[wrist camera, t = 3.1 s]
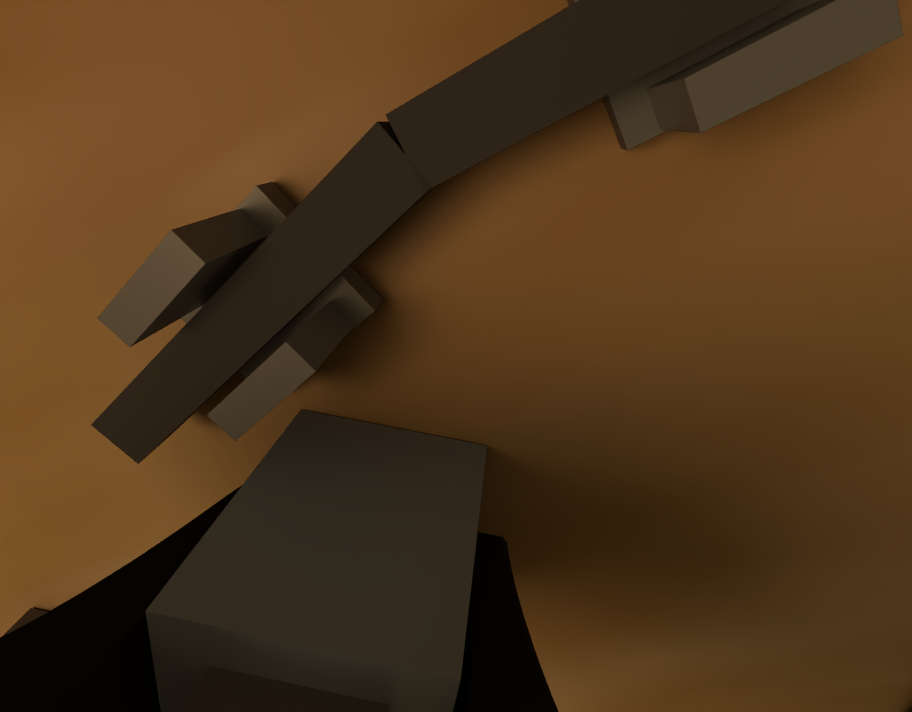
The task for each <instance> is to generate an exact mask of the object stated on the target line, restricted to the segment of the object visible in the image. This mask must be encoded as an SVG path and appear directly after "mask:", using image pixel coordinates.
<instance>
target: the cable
mask: <svg viewBox="0 0 912 712" xmlns="http://www.w3.org/2000/svg"><path fill="white" fill-rule="evenodd" d="M784 1H786V0H579V1H577V2H575V3H574V4H572V5H570V6H568V7H567V8H565V9H563V10H562V11H560V12H558V13H557V14H555V15H553V16H552V17H550V18H548V19H547V20H545V21H543V22H541V23H540V24H538V25H536V26H535V27H533V28H531V29H530V30H528V31H526V32H525V33H523V34H521V35H519V36H518V37H516V38H514V39H513V40H511V41H509V42H508V43H506V44H504V45H503V46H501V47H499V48H498V49H496V50H494V51H492V52H491V53H489V54H487V55H486V56H484V57H482V58H481V59H479V60H477V61H476V62H474V63H472V64H470V65H469V66H467V67H465V68H464V69H462V70H460V71H459V72H457V73H455V74H454V75H452V76H450V77H449V78H447V79H445V80H443V81H442V82H440V83H438V84H437V85H435V86H433V87H432V88H430V89H428V90H427V91H425V92H423V93H421V94H420V95H418V96H416V97H415V98H413V99H411V100H410V101H408V102H406V103H405V104H403V105H401V106H400V107H398V108H396V109H394V110H393V111H391V112H389V113H388V114H386V116H387V118H388V120H389V122H377V123H376V124H375V125H374V126H373V127H372V128H371V129H370V130H369V131H368V132H367V133H366V134H365V135H364V136H363V137H362V138H361V139H360V141H359V142H358V143H357V144H356V145H355V146H354V147H353V148H352V149H351V150H350V151H349V152H348V153H347V154H346V155H345V156H344V157H343V159H342V160H341V161H340V162H339V163H338V164H337V165H336V166H335V167H334V168H333V169H332V170H331V171H330V172H329V173H328V174H327V175H326V177H325V178H324V179H323V180H322V181H321V182H320V183H319V184H318V185H317V186H316V187H315V188H314V189H313V190H312V191H311V192H310V193H309V195H308V196H307V197H306V198H305V199H304V200H303V201H302V202H301V203H300V204H299V205H298V206H297V207H296V208H295V209H294V210H293V212H292V213H291V214H290V215H289V216H288V217H287V218H286V219H285V220H284V221H283V222H282V223H281V224H280V225H279V226H278V227H277V228H276V230H275V231H274V232H273V233H272V234H271V235H270V236H269V237H268V238H267V239H266V240H265V241H264V242H263V243H262V244H261V245H260V246H259V248H258V249H257V250H256V251H255V252H254V253H253V254H252V255H251V256H250V257H249V258H248V259H247V260H246V261H245V262H244V263H243V264H242V266H241V267H240V268H239V269H238V270H237V271H236V272H235V273H234V274H233V275H232V276H231V277H230V278H229V279H228V280H227V281H226V282H225V284H224V285H223V286H222V287H221V288H220V289H219V290H218V291H217V292H216V293H215V294H214V295H213V296H212V297H211V298H210V299H209V301H208V302H207V303H206V304H205V305H204V306H203V307H202V308H201V309H200V310H199V311H198V312H197V313H196V314H195V315H194V316H193V317H192V319H191V320H190V321H189V322H188V323H187V324H186V325H185V326H184V327H183V328H182V329H181V330H180V331H179V332H178V333H177V334H176V335H175V337H174V338H173V339H172V340H171V341H170V342H169V343H168V344H167V345H166V346H165V347H164V348H163V349H162V350H161V351H160V352H159V353H158V355H157V356H156V357H155V358H154V359H153V360H152V361H151V362H150V363H149V364H148V365H147V366H146V367H145V368H144V369H143V370H142V371H141V373H140V374H139V375H138V376H137V377H136V378H135V379H134V380H133V381H132V382H131V383H130V384H129V385H128V386H127V387H126V388H125V390H124V391H123V392H122V393H121V394H120V395H119V396H118V397H117V398H116V399H115V400H114V401H113V402H112V403H111V404H110V405H109V406H108V408H107V409H106V410H105V411H104V412H103V413H102V414H101V415H100V416H99V417H98V418H97V419H96V420H95V421H94V422H93V423H92V424H91V425H92V426H93V427H94V428H95V429H97V430H98V431H99V432H100V433H101V434H103V435H104V436H105V437H106V438H108V439H109V440H110V441H111V442H112V443H114V444H115V445H116V446H117V447H118V448H120V449H121V450H122V451H123V452H124V453H126V454H127V455H128V456H129V457H131V458H132V459H133V460H134V461H135V462H137V463H138V464H139V463H140V462H141V461H142V460H143V459H144V458H145V457H147V456H148V455H149V454H150V453H151V452H152V451H153V450H154V449H156V448H157V447H158V446H159V445H160V444H161V443H162V442H163V441H165V440H166V439H167V438H168V437H169V436H170V435H171V434H172V433H173V432H174V431H175V430H177V429H178V428H179V427H180V426H181V425H182V424H183V423H184V422H185V421H186V420H187V419H188V418H189V417H190V416H191V415H192V414H194V413H195V412H196V411H197V410H198V409H199V408H200V407H201V406H202V405H203V404H204V403H205V402H206V401H207V400H208V399H209V398H211V397H212V396H213V395H214V394H215V393H216V392H217V391H218V390H219V389H220V388H221V387H222V386H223V385H224V384H225V383H226V382H227V381H229V380H230V379H231V378H232V377H233V376H234V375H235V374H236V373H237V372H238V371H239V370H240V369H241V368H242V367H243V366H244V365H246V364H247V363H248V362H249V361H250V360H251V359H252V358H253V357H254V356H255V355H256V354H257V353H258V352H259V351H260V350H261V349H263V348H264V347H265V346H266V345H267V344H268V343H269V342H270V341H271V340H272V339H273V338H274V337H275V336H276V335H277V334H278V333H280V332H281V331H282V330H283V329H284V328H285V327H286V326H287V325H288V324H289V323H290V322H291V321H292V320H293V319H294V318H295V317H296V316H298V315H299V314H300V313H301V312H302V311H303V310H304V309H305V308H306V307H307V306H308V305H309V304H310V303H311V302H312V301H313V300H315V299H316V298H317V297H318V296H319V295H320V294H321V293H322V292H323V291H324V290H325V289H326V288H327V287H328V286H329V285H330V284H332V283H333V282H334V281H335V280H336V279H337V278H338V277H339V276H340V275H341V274H342V273H343V272H344V271H345V270H346V269H347V268H349V267H350V266H351V265H352V264H353V263H354V262H355V261H356V260H357V259H358V258H359V257H360V256H361V255H362V254H363V253H364V252H365V251H367V250H368V249H369V248H370V247H371V246H372V245H373V244H374V243H375V242H376V241H377V240H378V239H379V238H380V237H381V236H382V235H384V234H385V233H386V232H387V231H388V230H389V229H390V228H391V227H392V226H393V225H394V224H395V223H396V222H397V221H398V220H399V219H401V218H402V217H403V216H404V215H405V214H406V213H407V212H408V211H409V210H410V209H411V208H412V207H413V206H414V205H415V204H416V203H418V202H419V201H420V200H421V199H422V198H423V197H424V196H425V195H426V194H427V193H428V192H429V191H430V190H431V189H432V188H433V187H434V186H436V185H438V184H440V183H442V182H444V181H446V180H447V179H449V178H451V177H453V176H455V175H457V174H459V173H461V172H463V171H464V170H466V169H468V168H470V167H472V166H474V165H476V164H478V163H480V162H481V161H483V160H485V159H487V158H489V157H491V156H493V155H495V154H497V153H498V152H500V151H502V150H504V149H506V148H508V147H510V146H512V145H514V144H515V143H517V142H519V141H521V140H523V139H525V138H527V137H529V136H531V135H532V134H534V133H536V132H538V131H540V130H542V129H544V128H546V127H548V126H549V125H551V124H553V123H555V122H557V121H559V120H561V119H563V118H565V117H566V116H568V115H570V114H572V113H574V112H576V111H578V110H580V109H582V108H583V107H585V106H587V105H589V104H591V103H593V102H595V101H597V100H599V99H600V98H602V97H604V96H606V95H608V94H610V93H612V92H614V91H616V90H617V89H619V88H621V87H623V86H625V85H627V84H629V83H631V82H633V81H634V80H636V79H638V78H640V77H642V76H644V75H646V74H648V73H650V72H651V71H653V70H655V69H657V68H659V67H661V66H663V65H665V64H667V63H669V62H670V61H672V60H674V59H676V58H678V57H680V56H682V55H684V54H686V53H687V52H689V51H691V50H693V49H695V48H697V47H699V46H701V45H703V44H704V43H706V42H708V41H710V40H712V39H714V38H716V37H718V36H720V35H721V34H723V33H725V32H727V31H729V30H731V29H733V28H735V27H737V26H738V25H740V24H742V23H744V22H746V21H748V20H750V19H752V18H754V17H755V16H757V15H759V14H761V13H763V12H765V11H767V10H769V9H771V8H772V7H774V6H776V5H778V4H780V3H782V2H784Z"/></svg>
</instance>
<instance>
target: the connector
mask: <svg viewBox="0 0 912 712" xmlns="http://www.w3.org/2000/svg"><path fill="white" fill-rule="evenodd" d="M486 452H487V446H486V445H481V444H476V443H470V442H465V441H460V440H455V439H450V438H445V437H440V436H434V435H429V434H424V433H419V432H414V431H409V430H403V429H398V428H393V427H388V426H383V425H378V424H373V423H367V422H362V421H357V420H352V419H347V418H342V417H337V416H331V415H326V414H321V413H316V412H311V411H306V410H300V412H299V413H298V414H297V415H296V417H295V418H294V419H293V421H292V422H291V423H290V425H289V426H288V427H287V428H286V430H285V431H284V432H283V434H282V435H281V436H280V437H279V439H278V440H277V441H276V443H275V444H274V445H273V447H272V448H271V449H270V450H269V452H268V453H267V454H266V456H265V457H264V458H263V459H262V461H261V462H260V463H259V465H258V466H257V467H256V469H255V470H254V471H253V472H252V474H251V475H250V476H249V478H248V479H247V480H246V481H245V483H244V484H243V485H242V487H241V488H240V489H239V491H238V492H237V493H236V494H235V496H234V497H233V498H232V500H231V501H230V502H229V503H228V505H227V506H226V507H225V509H224V510H223V511H222V512H221V514H220V515H219V516H218V518H217V519H216V520H215V522H214V523H213V524H212V525H211V527H210V528H209V529H208V531H207V532H206V533H205V534H204V536H203V537H202V538H201V540H200V541H199V542H198V544H197V545H196V546H195V547H194V549H193V550H192V551H191V553H190V554H189V555H188V556H187V558H186V559H185V560H184V562H183V563H182V564H181V566H180V567H179V568H178V569H177V571H176V572H175V573H174V575H173V576H172V577H171V578H170V580H169V581H168V582H167V584H166V585H165V586H164V588H163V589H162V590H161V591H160V593H159V594H158V595H157V597H156V598H155V599H154V600H153V602H152V603H151V604H150V606H149V607H148V608H147V610H146V611H145V612H146V619H147V625H148V632H149V638H150V645H151V651H152V658H153V664H154V671H155V677H156V684H157V690H158V697H159V703H160V710H161V712H453V709H454V705H455V701H456V697H457V693H458V688H459V684H460V680H461V672H462V664H463V655H464V646H465V637H466V628H467V620H468V611H469V602H470V593H471V584H472V576H473V567H474V558H475V549H476V540H477V532H478V523H479V514H480V505H481V496H482V488H483V479H484V470H485V461H486Z"/></svg>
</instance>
